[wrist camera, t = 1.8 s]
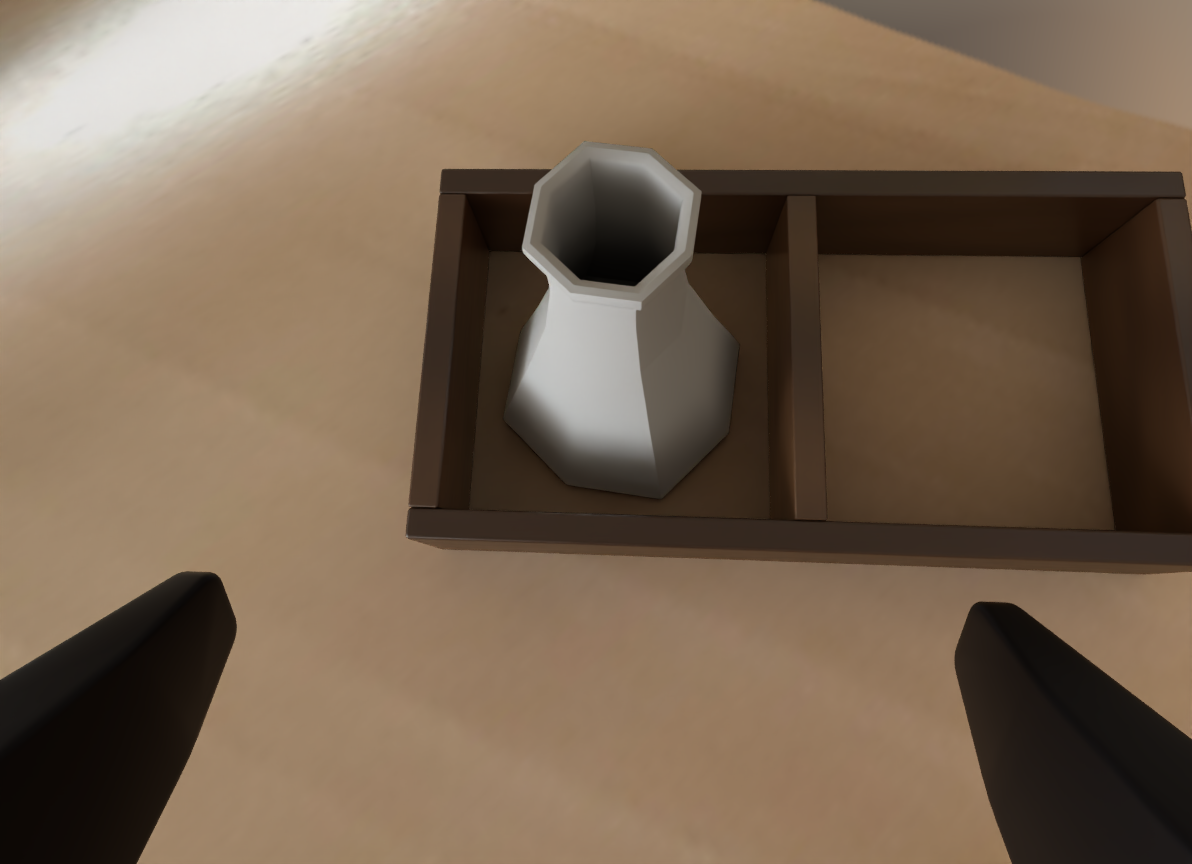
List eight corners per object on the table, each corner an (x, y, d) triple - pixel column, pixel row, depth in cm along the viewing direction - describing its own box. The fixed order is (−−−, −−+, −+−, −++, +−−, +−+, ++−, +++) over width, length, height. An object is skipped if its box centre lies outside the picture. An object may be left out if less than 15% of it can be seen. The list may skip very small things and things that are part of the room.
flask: (776, 335, 23) (881, 134, 13) (674, 541, 21) (707, 486, 12) (574, 243, 24) (533, -5, 14) (465, 433, 23) (337, 302, 13)
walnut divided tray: (1148, 574, 21) (1249, 568, 17) (440, 549, 22) (403, 538, 18) (1102, 234, 23) (1183, 170, 20) (468, 229, 24) (440, 167, 21)
